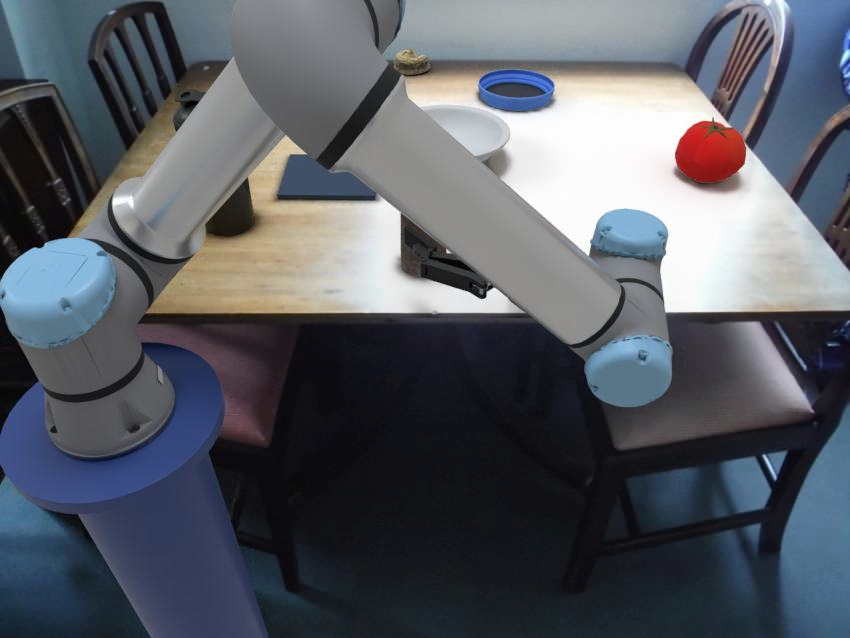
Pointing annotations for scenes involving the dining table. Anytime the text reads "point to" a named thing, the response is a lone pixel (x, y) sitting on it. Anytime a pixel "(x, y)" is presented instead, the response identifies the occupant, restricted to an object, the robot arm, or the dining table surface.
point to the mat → (320, 182)
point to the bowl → (516, 89)
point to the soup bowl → (472, 128)
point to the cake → (411, 62)
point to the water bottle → (238, 206)
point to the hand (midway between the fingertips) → (443, 219)
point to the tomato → (710, 152)
